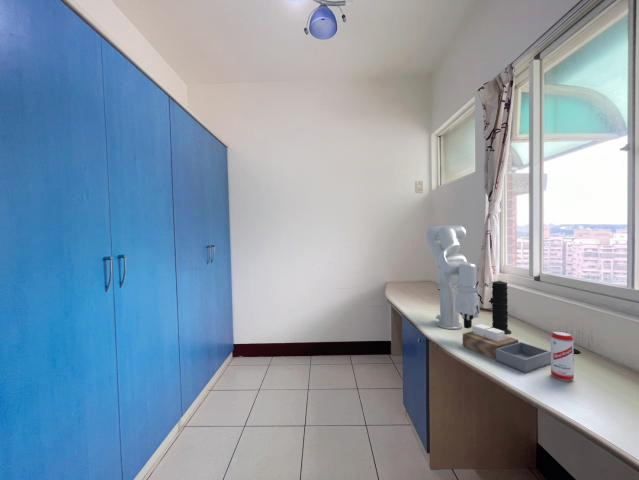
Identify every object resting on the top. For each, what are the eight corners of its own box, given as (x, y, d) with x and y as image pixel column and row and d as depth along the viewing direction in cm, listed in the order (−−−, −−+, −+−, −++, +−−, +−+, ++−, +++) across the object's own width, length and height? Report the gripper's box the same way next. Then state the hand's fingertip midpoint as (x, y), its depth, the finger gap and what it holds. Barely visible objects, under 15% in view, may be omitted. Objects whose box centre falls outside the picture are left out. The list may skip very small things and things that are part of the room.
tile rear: (473, 333, 131) (473, 325, 131) (480, 331, 133) (480, 324, 133) (483, 336, 126) (483, 328, 126) (491, 334, 128) (491, 327, 128)
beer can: (575, 383, 98) (575, 337, 97) (552, 379, 101) (552, 334, 100) (571, 375, 103) (571, 331, 102) (549, 371, 106) (549, 329, 106)
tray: (496, 361, 116) (495, 349, 115) (520, 353, 122) (520, 341, 122) (525, 373, 105) (525, 360, 105) (550, 364, 112) (550, 351, 112)
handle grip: (493, 333, 146) (515, 334, 144) (492, 282, 145) (514, 282, 143) (486, 327, 155) (506, 328, 153) (485, 279, 155) (506, 279, 153)
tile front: (485, 337, 125) (485, 329, 125) (493, 335, 127) (493, 327, 127) (496, 341, 121) (496, 333, 121) (504, 339, 123) (504, 331, 123)
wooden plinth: (462, 346, 131) (462, 333, 131) (483, 341, 137) (483, 328, 136) (497, 360, 116) (496, 345, 116) (518, 353, 122) (518, 339, 122)
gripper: (448, 287, 141) (449, 324, 141) (476, 293, 127) (476, 333, 128) (459, 286, 144) (459, 322, 144) (487, 291, 130) (487, 331, 131)
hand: (467, 327), depth 136 cm, fingers closed
